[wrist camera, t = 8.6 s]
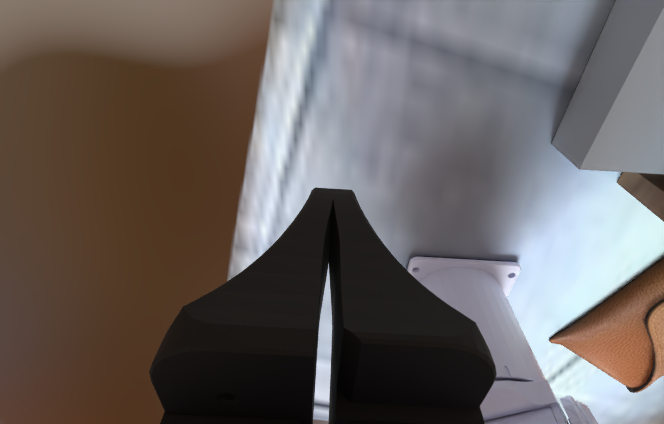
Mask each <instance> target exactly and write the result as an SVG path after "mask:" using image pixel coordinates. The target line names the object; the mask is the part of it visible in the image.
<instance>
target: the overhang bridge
mask: <svg viewBox="0 0 664 424" xmlns="http://www.w3.org/2000/svg"><path fill="white" fill-rule="evenodd" d="M617 183H618V184H619V185H620V186H621V187H623V188H624V189H625V190H626V191H628V192H629V193H630V194H631V195H632V196H634V197H635V198H636V199H637V200H638V201H640V202H641V203H642V204H643V205H644V206H646V207H647V208H648V209H649V210H650V211H652V212H653V213H654V214H655V215H656V216H658V217H659V218H660V219H661V220H663V221H664V174H650V173H633V172H623V173H622V175H621V177H620V178H619V180H618V181H617Z"/></svg>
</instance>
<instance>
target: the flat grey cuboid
mask: <svg viewBox="0 0 664 424" xmlns="http://www.w3.org/2000/svg"><path fill="white" fill-rule="evenodd" d="M552 145H553V146H554V147H555V148H556V149H557V150H559V151H560V152H561V153H562V154H563V155H564V156H565V157H566V158H567V159H569V160H570V161H571V162H572V163H573V164H574V165H575V166H576V167H577V168H578V169H583V170H600V171H616V172H633V173H650V174H664V0H616V1H615V3H614V5H613V7H612V10H611V12H610V14H609V16H608V19H607V21H606V23H605V25H604V28H603V30H602V32H601V34H600V36H599V39H598V41H597V43H596V45H595V48H594V50H593V52H592V54H591V57H590V59H589V61H588V63H587V65H586V68H585V70H584V72H583V74H582V77H581V79H580V81H579V83H578V86H577V88H576V90H575V92H574V94H573V97H572V99H571V101H570V103H569V106H568V108H567V110H566V112H565V115H564V117H563V119H562V121H561V123H560V126H559V128H558V130H557V132H556V135H555V137H554V139H553V141H552Z"/></svg>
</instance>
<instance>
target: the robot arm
mask: <svg viewBox="0 0 664 424" xmlns="http://www.w3.org/2000/svg"><path fill="white" fill-rule="evenodd" d="M328 263H329V273H330V289H331V305H332V354H331V380H330V405H329V424H569V423H568V420H569V422H570V424H598V423H597V421H596V419H595V418H594V416H593V414H592V413H591V411H590V409H589V408H588V407H587V406H586V405H584V404H583V403H581V402H579V401H575V400H574V399H573V397H571V396H565V397H562V398H560V400H561V403H562V405H563V407H564V409H565V411H566V413H567V415H568V417H569V419H568V420H567V418H566V416H565V414H564V412H563V410H562V408H561V407H560V405H559V403H558V401H557V399H556V397H555V395H554V393H553V391H552V389H551V387H550V386H549V384H548V382H547V380H546V379H545V377H544V375H543V373H542V371H541V369H540V367H539V365H538V363H537V361H536V358H535V356H534V354H533V352H532V350H531V348H530V346H529V344H528V342H527V340H526V338H525V335H524V333H523V331H522V329H521V327H520V325H519V323H518V321H517V319H516V317H515V315H514V312H513V310H512V308H511V306H510V304H509V302H508V300H507V297H508V295H509V293H510V291H511V289H512V287H513V285H514V283H515V281H516V279H517V277H518V275H519V273H520V271H521V267H520V265H519V264H518V263H516V262H502V261H485V260H468V259H450V258H433V257H413V258H412V259H410V261H409V265H408V269H407V270H406V269H405V268H404V267H403V266H402V265H401V264H400V263H399V262H398V261H397V260H396V258H395V257H394V256H393V255H392V254H391V253H390V251H389V250H388V249H387V248H386V246H385V245H384V244H383V243H382V241H381V240H380V238H379V237H378V236H377V234H376V233H375V231H374V230H373V228H372V227H371V225H370V223H369V222H368V220H367V218H366V217H365V215H364V213H363V211H362V209H361V207H360V205H359V203H358V201H357V199H356V196H355V194H354V192H353V191H352V190H343V189H327V188H314V189H313V190H312V191H311V194H310V196H309V198H308V200H307V201H306V203H305V205H304V206H303V208H302V210H301V211H300V212H299V214H298V215H297V217H296V218H295V219H294V221H293V222H292V223H291V225H290V226H289V227H288V228H287V230H286V231H285V232H284V233H283V234H282V235H281V237H280V238H279V239H278V240H277V241H276V242H275V243H274V244H273V245H272V246H271V247H270V248H269V249H268V250H267V251H266V252H265V253H264V254H263V255H262V256H260V257H259V258H258V259H257V260H256V261H255V262H253V263H252V264H251V265H250V266H249V267H247V268H246V269H245V270H243V271H242V272H241V273H239V274H238V275H236V276H235V277H233V278H232V279H231V280H229V281H228V282H226V283H225V284H223V285H222V286H220V287H219V288H217V289H215V290H213V291H212V292H210V293H208V294H206V295H204V296H203V297H200V298H199V299H197V300H195V301H193V302H191V303H189V304H187V305H185V306H183V307H182V309H181V311H180V312H179V314H178V315H177V317H176V318H175V320H174V322H173V323H172V325H171V326H170V328H169V329H168V331H167V333H166V335H165V337H164V339H163V341H162V343H161V345H160V347H159V349H158V352H157V354H156V356H155V358H154V360H153V363H152V365H151V368H150V377H151V381H152V384H153V386H154V388H155V390H156V393H157V395H158V397H159V399H160V401H161V403H162V406H163V408H164V410H165V413H164V415H163V418H162V420H161V423H160V424H313V410H314V394H315V378H316V362H317V347H318V331H319V321H320V313H321V307H322V301H323V295H324V288H325V282H326V276H327V270H328ZM416 267H417V268H416ZM413 268H416V269H413ZM510 273H511V274H510Z"/></svg>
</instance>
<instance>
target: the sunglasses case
mask: <svg viewBox="0 0 664 424" xmlns="http://www.w3.org/2000/svg"><path fill="white" fill-rule="evenodd" d="M549 341H550V342H551V343H555V344H561V345H563V346H564V347H566V348H567V349H569V350H571V351H572V352H574V353H575V354H577V355H579V356H580V357H582V358H583V359H585V360H586V361H588V362H589V363H591V364H593V365H594V366H596V367H597V368H598V369H601V370H602V371H604V372H605V373H607V374H608V375H609V376H611V377H613V378H614V379H616V380H617V381H619V382H621V383H622V384H624V385H625V386H626V387H627V389H628V390H629V391H630V392H633V393H635V392H640V391H642V390H644V389H646V388H647V387H648V386H650V385H651V384H652V383H653V382H654V381H655V380H657V379H658V378H660V377H661V376H663V375H664V257H663V258H662V259H660V260H659V261H658V262H656V263H655V264H654V265H652V266H651V267H650V268H649V269H647V270H646V271H644V272H643V273H642V274H641V275H639V276H638V277H637V278H635V279H634V280H632V281H631V282H630V283H628V284H627V285H626V286H625V287H623V288H622V289H620V290H619V291H618V292H616V293H615V294H613V295H612V296H611V297H609V298H608V299H607V300H605V301H604V302H603V303H601V304H600V305H598V306H597V307H596V308H594V309H593V310H592V311H590V312H589V313H588V314H586V315H585V316H584V317H582V318H580V319H579V320H577V321H576V322H574V323H573V324H571V325H570V326H568V327H567V328H565V329H563V330H561V331H559V332H558V333H557V334H555V335H554V336H553V337H552V338H551V339H549Z"/></svg>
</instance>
